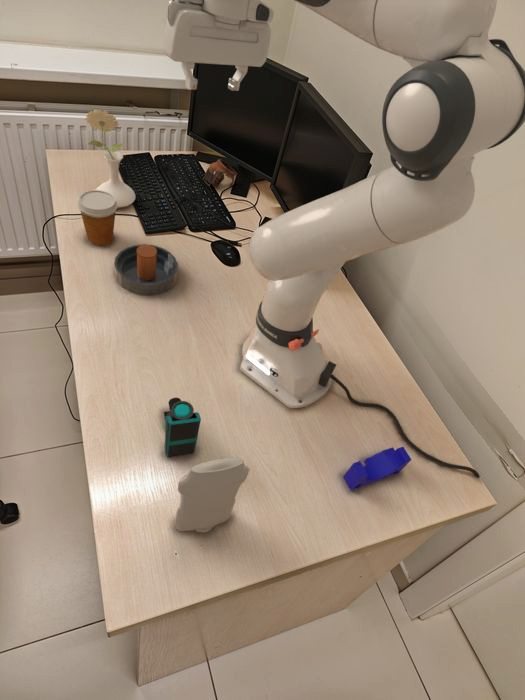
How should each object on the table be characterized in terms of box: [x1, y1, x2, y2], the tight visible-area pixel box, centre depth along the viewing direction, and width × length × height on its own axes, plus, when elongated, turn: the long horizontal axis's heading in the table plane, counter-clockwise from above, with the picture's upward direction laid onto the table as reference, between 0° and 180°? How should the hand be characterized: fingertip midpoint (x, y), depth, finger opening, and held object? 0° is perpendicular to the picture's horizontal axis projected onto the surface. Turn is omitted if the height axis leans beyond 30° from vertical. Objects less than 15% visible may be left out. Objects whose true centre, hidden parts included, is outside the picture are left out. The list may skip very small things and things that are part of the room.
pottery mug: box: [203, 158, 237, 188], centre depth 150 cm, size 12×10×8 cm
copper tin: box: [137, 244, 157, 280], centre depth 114 cm, size 5×5×8 cm
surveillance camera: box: [163, 397, 202, 458], centre depth 86 cm, size 6×12×10 cm
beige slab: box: [174, 457, 250, 534], centre depth 72 cm, size 11×4×22 cm, turn 107°
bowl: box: [113, 243, 179, 296], centre depth 116 cm, size 15×15×4 cm
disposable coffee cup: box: [76, 189, 118, 246], centre depth 119 cm, size 10×10×12 cm
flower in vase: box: [84, 109, 137, 209], centre depth 126 cm, size 13×11×25 cm
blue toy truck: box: [343, 446, 412, 491], centre depth 91 cm, size 12×4×6 cm, turn 114°
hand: (212, 89), depth 87 cm, fingers open, 8 cm apart
